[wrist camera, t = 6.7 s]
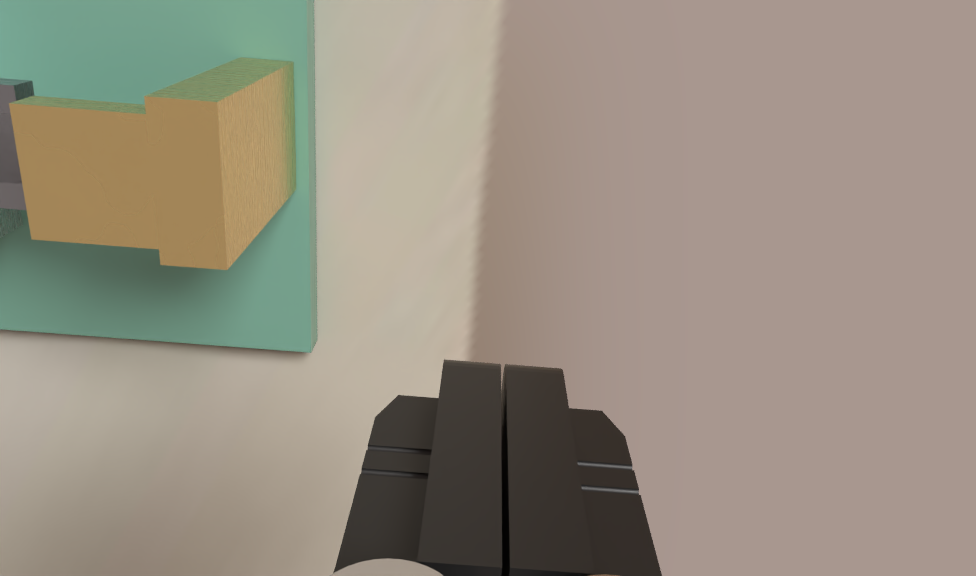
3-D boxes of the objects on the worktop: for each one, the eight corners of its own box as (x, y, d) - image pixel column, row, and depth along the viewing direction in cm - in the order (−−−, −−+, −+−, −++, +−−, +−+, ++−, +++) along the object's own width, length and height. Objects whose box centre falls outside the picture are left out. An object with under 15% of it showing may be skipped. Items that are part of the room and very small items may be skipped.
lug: (140, 49, 23) (6, 84, 17) (293, 61, 23) (217, 102, 17) (153, 177, 25) (34, 255, 18) (296, 189, 25) (227, 270, 18)
